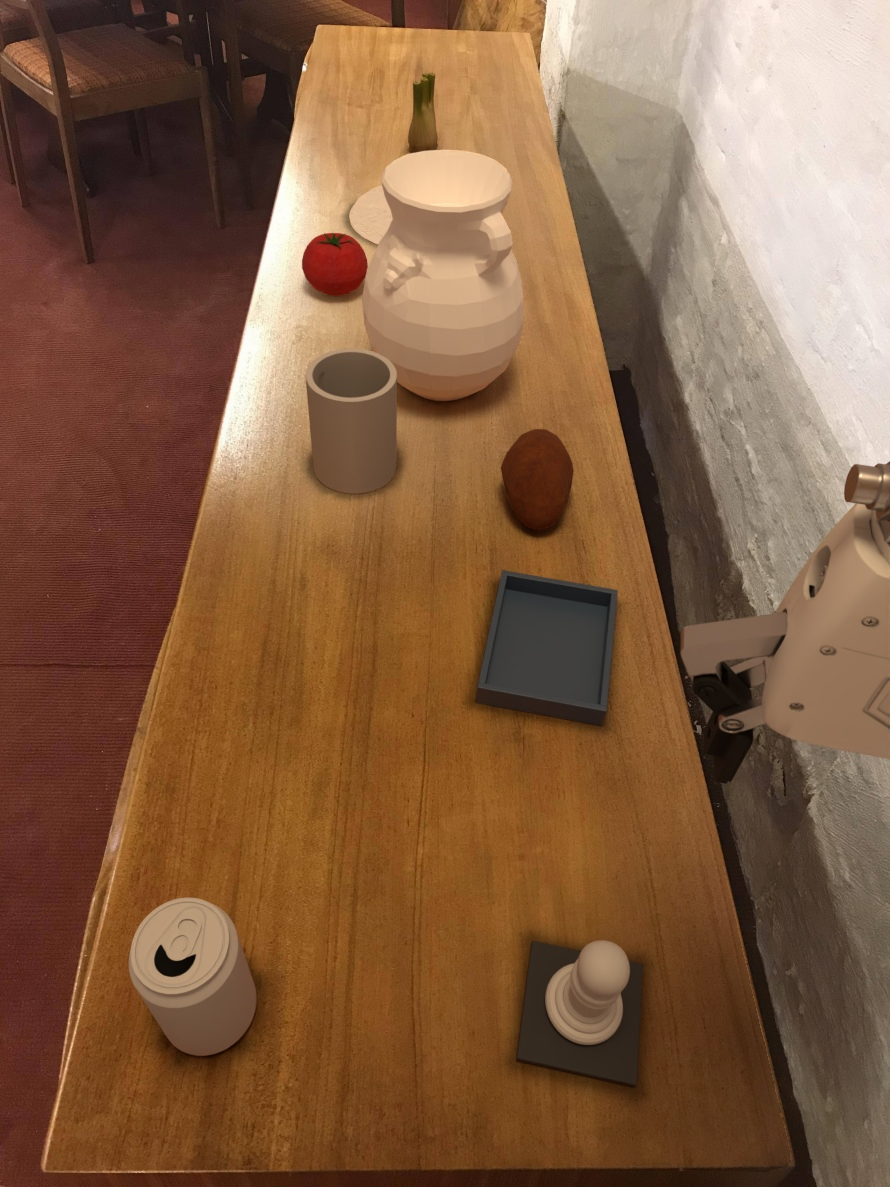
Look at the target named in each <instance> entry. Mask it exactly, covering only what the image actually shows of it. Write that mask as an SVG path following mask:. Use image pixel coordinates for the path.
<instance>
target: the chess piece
mask: <svg viewBox="0 0 890 1187" xmlns="http://www.w3.org/2000/svg"><path fill="white" fill-rule="evenodd" d="M580 951H581V953H580V955H579V958H578V959H577V960H576V962H575V963H573V964H570V965H567V966H565V967H563V968H561V969H560V970H558V971H557V972H556V973H555V974H554V975H553V977H552V978H551V980H550V981H549V983H548V986H547V989H546V995H545V1003H546V1010H547V1013H548V1016H549V1018H550V1020H551V1022H552V1024H553V1025H554V1027H555V1028H556V1029H557V1031H558V1032H559V1033H560V1034H561V1035H563V1036H564V1037H565V1038H567V1039H569V1040H570V1041H573V1042H575V1043H578V1044H583V1045H593V1044H598V1043H601V1042H603V1041H605V1040H607V1039H608V1038H610V1037H611V1036H612V1035H613V1034H614V1033H615V1032H616V1030H617V1029H618V1027H619V1025H620V1022H621V1019H622V1014H623V1003H622V998H621V992H622V990H623V989H624V988H625V986H626V985H627V983H628V980H629V975H630V966H629V961H630V960H629V958H628V956H627V954H626V952H625V950H623V948H622V947H621V946H620V945H618V944H616V943H615V942H612V941H609V940H605V939H604V940H602V939H601V940H594V941H591V942H589V943H587V944H586V945H585V946H584V947H583V949H581V950H580Z"/></svg>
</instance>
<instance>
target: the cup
mask: <svg viewBox="0 0 890 1187" xmlns="http://www.w3.org/2000/svg"><path fill="white" fill-rule="evenodd" d="M305 385H306V397H307V408H308V420H309V422H308V423H309V431H310V432H309V433H310V444H311V456H312V467H313V473H314V476H315V477H316V478H317V480H318V481H319V482H320V483H321V484H322V485H323V486H325V487H327V488H329V489H330V490H333V491H334V492H338V493H342V494H353V495H354V494H355V495H357V494H366V493H367V494H368V493H369V492H374V491H377V490H379V489H381V488H383V487H384V486H386V485H388V484H389V482H391V480H393V478H394V476H395V474H396V471H397V455H398V454H397V446H398V445H397V444H398V443H397V439H398V438H397V435H398V434H397V432H398V431H397V430H398V429H397V428H398V427H397V426H398V425H397V424H398V423H397V422H398V420H397V419H398V418H397V417H398V416H397V415H398V414H397V413H398V411H397V410H398V409H397V408H398V407H397V406H398V405H397V404H398V402H397V400H398V398H397V397H398V396H397V395H398V382H397V373H396V369H395V367H394V365H393V364H392V363H391V362H390V360H388V359H387V358H386V357H384V356H382V355H380V354H378V353H376V352H373V350H369V349H364V348H352V347H350V348H338V349H333V350H330V351H328V352H325V353H323V354H320V355H319V356H317V357H316V358H314V359H313V360H312V361H311V362H310V363H309V365H307V368H306V370H305Z"/></svg>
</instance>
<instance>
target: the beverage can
mask: <svg viewBox="0 0 890 1187" xmlns="http://www.w3.org/2000/svg"><path fill="white" fill-rule="evenodd" d="M244 952H245V951H244V950H243V946H242V943H241V940H240V937H239V935H238V932H237V929H236V926H235V923H234V922H233V920H232V919H231V918H230V916H229V914H227V912H226V911H224V910H223V909H222V908H220V907H219V906H218V905H216V904H214V903H211V902H209V901H207V900H205V899H201V898H199V897H198V898H197V897H180V898H175V899H171V900H169V901H166V902H164V903H162V904H160V905H159V906H157V907H155V909H152V911H151V912H149V914H148V915H146V917H145V918H144V919H143V920H142V921H141V922H140V924H139V926H137V928H136V931H135V933H134V935H133V938H132V941H131V946H130V949H129V954H128V972H129V976H130V980H131V982H132V985H133V987H134V988H135V990H136V991H137V993H138V995H139V996H140V997H141V999H142V1001H143V1002H144V1004H145V1006H146V1007H147V1009H148V1011H150V1013H151V1015H152V1016H153V1018H154V1020H155V1021H156V1022H157V1025H158V1026H159V1027H160V1029H161V1031H162V1032H163V1034H164V1035H165V1037H166V1038H167V1039H168V1041H169V1042H170V1043H171V1044H172V1045H173V1046H174V1047H175V1048H176V1049H178V1050H179V1051H181V1052H182V1053H185V1054H187V1055H192V1056H197V1057H202V1056H203V1057H204V1056H205V1057H206V1056H212V1055H216V1054H218V1053H220V1052H223V1051H225V1050H227V1049H229V1048H230V1047H231V1046H233V1045H234V1044H235V1043H237V1042H238V1041H239V1040H240V1039H241V1038H242V1037H243V1036H244V1034H245V1033H246V1032H247V1030H248V1028H249V1027H250V1025H251V1024H252V1021H253V1019H254V1016H255V1013H256V1008H257V989H256V984H255V982H254V978H253V976H252V973H251V969H250V967H249V963H248V960H247V959H246V955H245V953H244Z"/></svg>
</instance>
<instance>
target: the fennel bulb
mask: <svg viewBox="0 0 890 1187" xmlns="http://www.w3.org/2000/svg"><path fill="white" fill-rule="evenodd" d="M435 81H436V74H435V73H434V72H422V75H421V77H420V81H418V80H413V81H412V118H411V122H410V125H409V129H408V135H407V142H408V146H409V149H410V151H411V153H416V152H421V151H431V150H438V146H439V144H438V141H439V140H438V136H439V135H438V131H437V121H436V120H437V119H436V111H435V100H434V99H435Z"/></svg>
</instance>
